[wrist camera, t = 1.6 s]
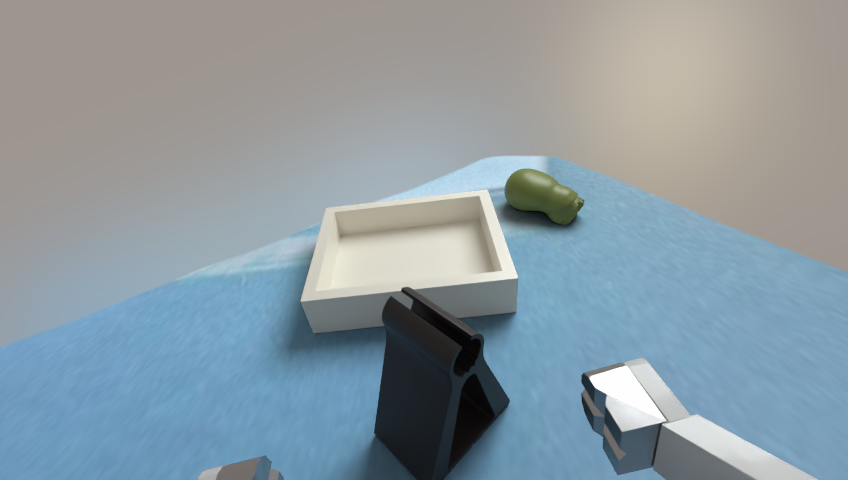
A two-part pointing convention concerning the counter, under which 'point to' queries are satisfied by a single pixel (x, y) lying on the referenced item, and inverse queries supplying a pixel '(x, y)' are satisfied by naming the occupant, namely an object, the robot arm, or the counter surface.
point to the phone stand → (433, 387)
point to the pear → (542, 195)
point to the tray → (409, 260)
